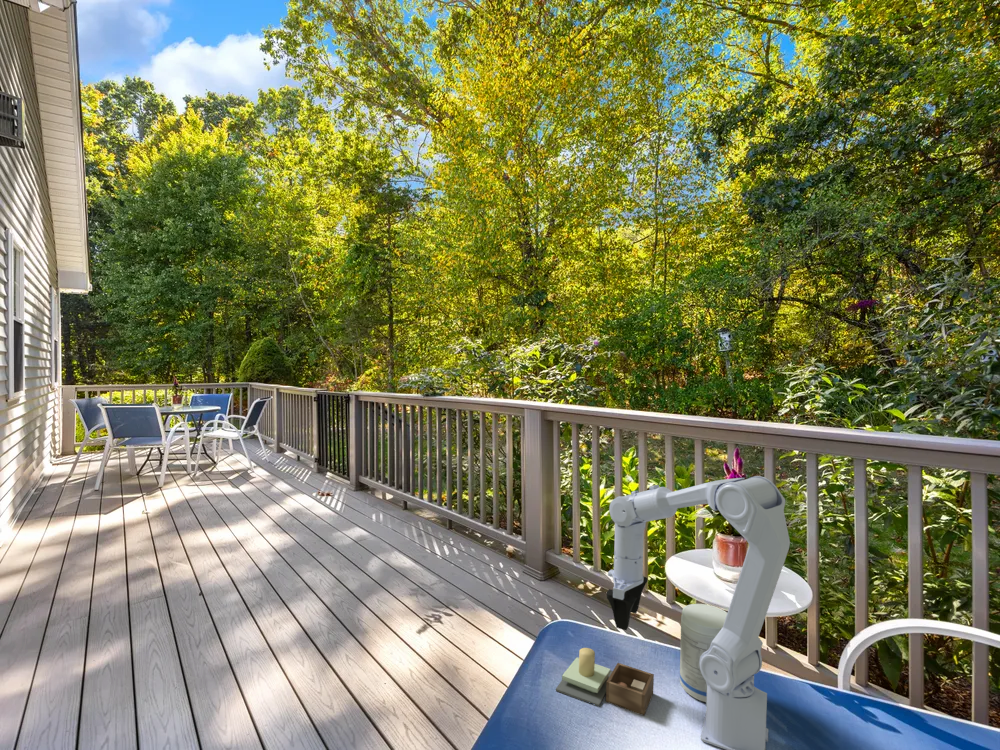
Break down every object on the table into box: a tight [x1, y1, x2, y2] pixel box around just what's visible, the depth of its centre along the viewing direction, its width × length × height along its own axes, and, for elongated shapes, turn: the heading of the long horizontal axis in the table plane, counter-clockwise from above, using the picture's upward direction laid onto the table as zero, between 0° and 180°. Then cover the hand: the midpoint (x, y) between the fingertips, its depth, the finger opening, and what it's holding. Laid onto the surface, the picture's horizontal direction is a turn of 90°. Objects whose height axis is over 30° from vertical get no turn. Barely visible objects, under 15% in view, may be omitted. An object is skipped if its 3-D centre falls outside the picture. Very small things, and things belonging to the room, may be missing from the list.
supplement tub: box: [679, 603, 728, 703], centre depth 96 cm, size 10×10×15 cm
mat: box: [555, 670, 613, 707], centre depth 98 cm, size 8×11×1 cm
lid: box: [561, 647, 611, 693], centre depth 98 cm, size 7×7×6 cm
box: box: [605, 662, 655, 717], centre depth 94 cm, size 7×7×4 cm
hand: (626, 619), depth 102 cm, fingers open, 7 cm apart
